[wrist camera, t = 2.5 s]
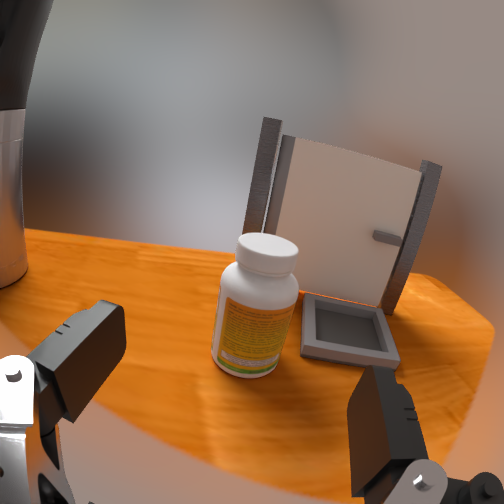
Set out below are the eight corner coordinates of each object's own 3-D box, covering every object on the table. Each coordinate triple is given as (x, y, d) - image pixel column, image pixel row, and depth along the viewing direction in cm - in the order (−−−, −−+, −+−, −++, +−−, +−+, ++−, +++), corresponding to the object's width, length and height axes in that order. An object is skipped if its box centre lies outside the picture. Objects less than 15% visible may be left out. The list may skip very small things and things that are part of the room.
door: (251, 285, 33) (281, 134, 27) (255, 274, 36) (283, 134, 30) (380, 313, 32) (427, 174, 26) (375, 300, 35) (417, 171, 28)
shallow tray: (300, 356, 24) (304, 344, 24) (302, 302, 33) (305, 292, 32) (394, 371, 24) (400, 361, 23) (377, 318, 32) (381, 308, 31)
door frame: (233, 280, 35) (263, 116, 28) (237, 274, 36) (265, 118, 29) (391, 315, 33) (442, 166, 26) (388, 307, 35) (435, 164, 28)
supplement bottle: (290, 371, 23) (326, 260, 19) (226, 387, 20) (250, 264, 16) (258, 331, 27) (282, 228, 23) (201, 339, 24) (215, 228, 21)
